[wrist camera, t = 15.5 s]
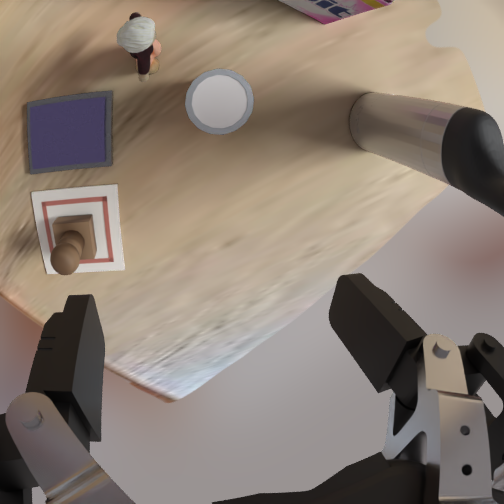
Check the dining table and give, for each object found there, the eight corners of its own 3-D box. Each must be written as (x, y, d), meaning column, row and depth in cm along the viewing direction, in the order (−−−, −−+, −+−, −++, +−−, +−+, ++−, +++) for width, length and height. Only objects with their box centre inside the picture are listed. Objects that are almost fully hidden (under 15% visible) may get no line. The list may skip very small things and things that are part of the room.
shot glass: (197, 138, 35) (205, 147, 29) (170, 91, 31) (172, 88, 25) (247, 112, 35) (265, 115, 29) (222, 64, 31) (236, 57, 25)
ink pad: (113, 90, 29) (111, 90, 28) (112, 164, 33) (110, 167, 32) (30, 102, 26) (25, 102, 25) (33, 172, 30) (28, 175, 29)
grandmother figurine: (171, 74, 30) (177, 61, 20) (140, 87, 30) (130, 80, 19) (150, 20, 26) (147, -16, 15) (119, 33, 26) (101, 3, 15)
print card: (117, 183, 35) (117, 184, 34) (125, 268, 40) (124, 270, 40) (32, 191, 31) (30, 192, 31) (47, 273, 37) (47, 274, 36)
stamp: (93, 213, 35) (78, 244, 28) (97, 248, 37) (86, 285, 30) (58, 216, 33) (36, 247, 26) (64, 250, 36) (46, 287, 28)
